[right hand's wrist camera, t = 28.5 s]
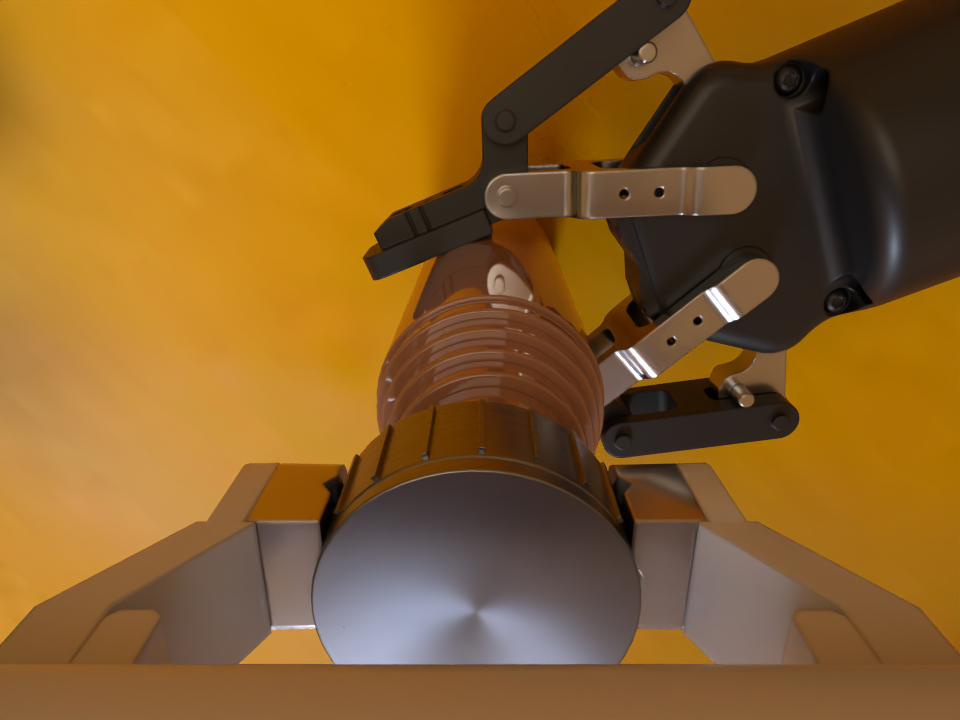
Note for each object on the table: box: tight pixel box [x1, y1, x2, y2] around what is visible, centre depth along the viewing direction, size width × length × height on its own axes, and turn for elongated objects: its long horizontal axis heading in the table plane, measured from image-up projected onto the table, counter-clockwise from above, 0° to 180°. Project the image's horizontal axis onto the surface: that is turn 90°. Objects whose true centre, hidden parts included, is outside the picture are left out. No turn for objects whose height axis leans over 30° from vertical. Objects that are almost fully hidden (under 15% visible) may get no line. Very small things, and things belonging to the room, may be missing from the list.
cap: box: [311, 399, 642, 664], centre depth 9 cm, size 4×4×2 cm
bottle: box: [377, 218, 604, 454], centre depth 17 cm, size 5×5×18 cm
